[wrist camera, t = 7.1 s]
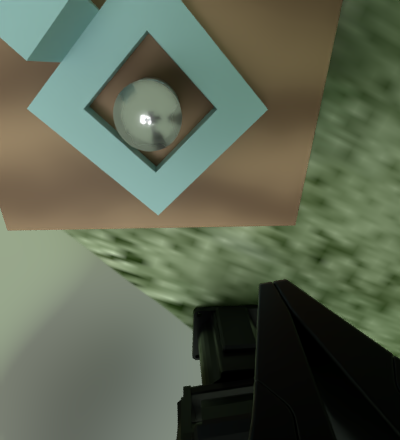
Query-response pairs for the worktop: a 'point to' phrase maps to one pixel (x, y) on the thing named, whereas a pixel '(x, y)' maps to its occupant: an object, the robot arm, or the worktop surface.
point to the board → (191, 115)
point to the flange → (109, 65)
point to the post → (148, 114)
